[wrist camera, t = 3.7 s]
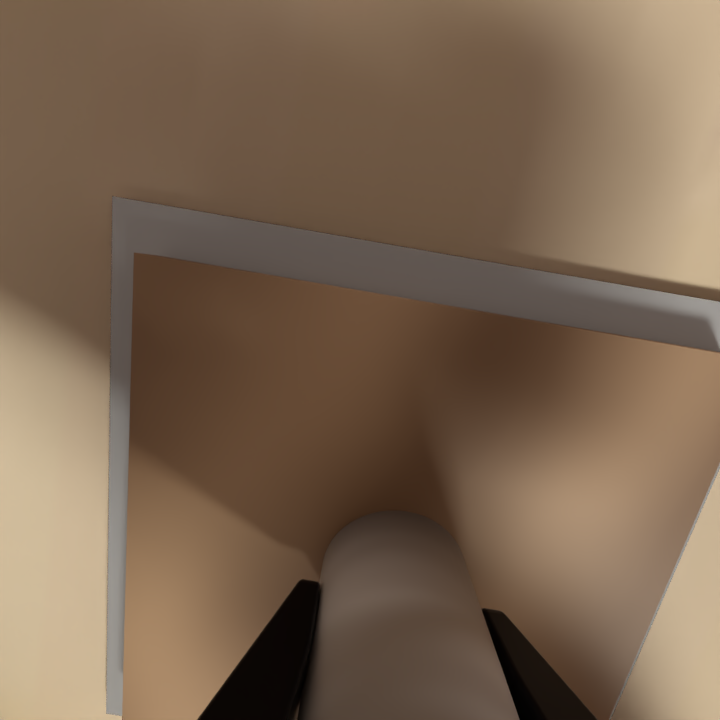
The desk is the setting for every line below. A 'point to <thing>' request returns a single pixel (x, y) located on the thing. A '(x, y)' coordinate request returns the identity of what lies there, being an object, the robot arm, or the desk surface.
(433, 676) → the lid
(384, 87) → the desk surface
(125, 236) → the tray
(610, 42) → the desk surface
